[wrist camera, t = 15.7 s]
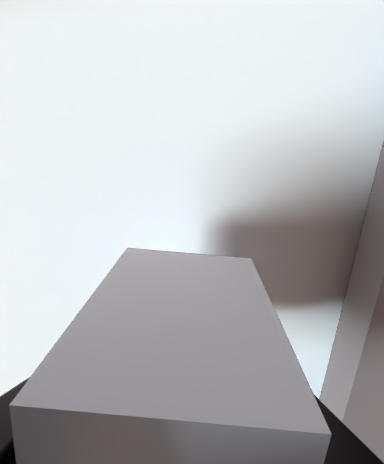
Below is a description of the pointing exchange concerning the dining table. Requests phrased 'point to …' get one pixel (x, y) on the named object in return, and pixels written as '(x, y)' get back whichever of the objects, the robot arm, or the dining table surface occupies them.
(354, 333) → the socket board
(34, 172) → the dining table surface
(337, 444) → the robot arm
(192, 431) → the plug
